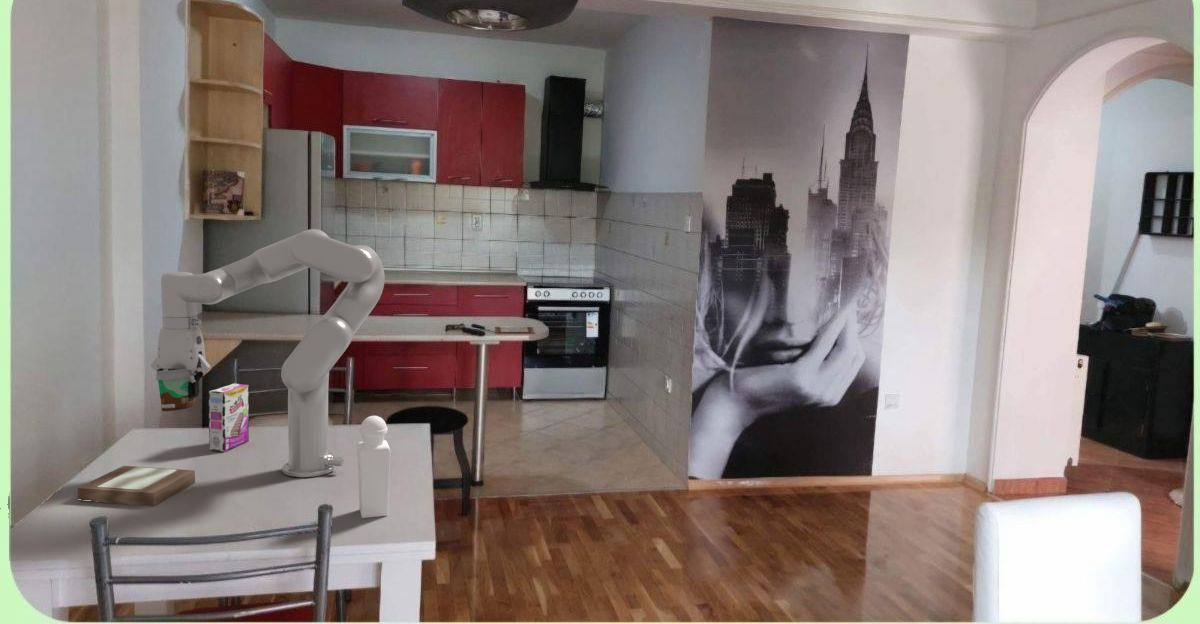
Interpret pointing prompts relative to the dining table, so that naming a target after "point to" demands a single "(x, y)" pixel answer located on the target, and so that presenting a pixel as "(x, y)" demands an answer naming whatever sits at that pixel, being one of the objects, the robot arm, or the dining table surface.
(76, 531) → the dining table surface
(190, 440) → the dining table surface
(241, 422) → the candy bar box
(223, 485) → the dining table surface
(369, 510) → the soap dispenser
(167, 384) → the food container
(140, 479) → the plinth
